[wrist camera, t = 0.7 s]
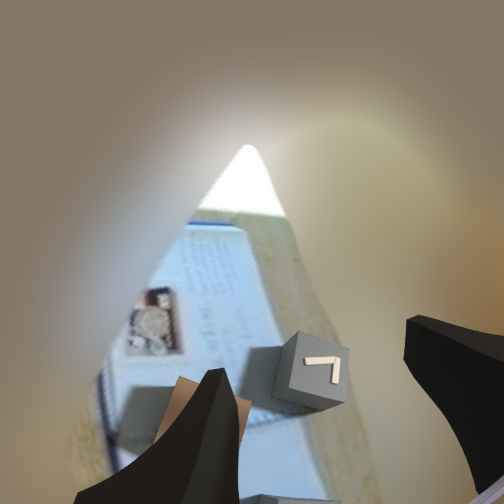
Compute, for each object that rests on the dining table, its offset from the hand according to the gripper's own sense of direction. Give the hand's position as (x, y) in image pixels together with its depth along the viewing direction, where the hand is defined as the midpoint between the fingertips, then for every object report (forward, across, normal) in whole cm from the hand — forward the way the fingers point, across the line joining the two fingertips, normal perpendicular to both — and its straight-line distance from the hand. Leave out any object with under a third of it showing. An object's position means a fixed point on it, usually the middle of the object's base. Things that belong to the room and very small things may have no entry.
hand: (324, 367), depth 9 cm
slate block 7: (+14, -1, +13) cm, 19 cm away
